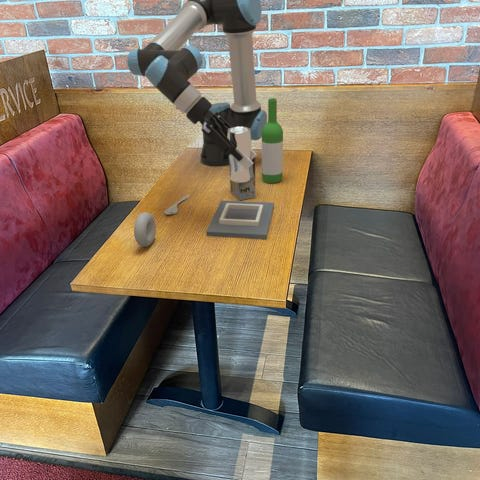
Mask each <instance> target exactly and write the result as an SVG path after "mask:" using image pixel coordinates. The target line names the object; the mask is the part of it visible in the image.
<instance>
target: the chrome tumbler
mask: <svg viewBox="0 0 480 480" xmlns="http://www.w3.org/2000/svg"><path fill="white" fill-rule="evenodd" d="M227 131H228V133H227V138H228V139H229V140H230V141H231V143H232V144H233V145H234V146H235V148H238V149H239V150H241V151H242V152H243V153H244V154H245V155H246V156H247V157H248V158H249V159H250V155H251V149H252V140H251V133H250V128H247V127H232V128H229V129H228V130H227ZM229 159H230V163H231V176H230V175H229V181H230V180H231V181H233V182H236V183H243V182H247V181H249V180H250V173H249V168H248V169H247V170H246V169H245V168H244V167H243V166H242V165H241V164H240V163H239V162H238V161H237V160H236V159H235V158H234V157H233V156H232V155H231V154H230V155H229Z"/></svg>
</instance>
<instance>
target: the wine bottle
mask: <svg viewBox="0 0 480 480" xmlns="http://www.w3.org/2000/svg"><path fill="white" fill-rule="evenodd" d="M267 101H268V102H267V103H268V104H267V107H268V108H267V111H268V113H267V123H266V124H265V126H264V127H263V129H262V137H261V178H262V181H263V182H265V183H267V184H277V183H279V182H281V181H282V180H283V171H284V170H283V168H284V165H283V164H284V130H283V127H282V126H281V124H280V123H278V121H277V120H278V119H277V116H278V115H277V113H278V112H277V111H278V107H277V105H278V104H277V103H278V102H277V101H278V100H277V98H268V100H267Z"/></svg>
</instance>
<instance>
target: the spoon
mask: <svg viewBox="0 0 480 480" xmlns="http://www.w3.org/2000/svg"><path fill="white" fill-rule="evenodd" d="M188 198H190V194H186V195H185V194H184V196H183V197H181V198H180V199H179V200H178V201H177V202H176V203H174V204H173V205H171V206H170V207H168V208H167V209H166V210H165V211H164V215H174V214H177V213H178V212H179V208H178V204H180V203H181V202H184V201H185V200H187V199H188ZM171 212H173V213H171Z"/></svg>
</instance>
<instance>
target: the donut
mask: <svg viewBox="0 0 480 480" xmlns="http://www.w3.org/2000/svg"><path fill="white" fill-rule="evenodd" d="M156 228H157V226H156V221H155V217H154V216H153V215H152V214H151V212H146V211H145V212H141V213H140V214H139V215H138V216H137V218H136V219H135V223H134V226H133V235H134V239H135V242H136V244H137V245H138V246H140V247H141V248H146V247H149V246H150V245H151V244H152V243H153V241H154V240H155V236H156V230H157V229H156Z"/></svg>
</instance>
